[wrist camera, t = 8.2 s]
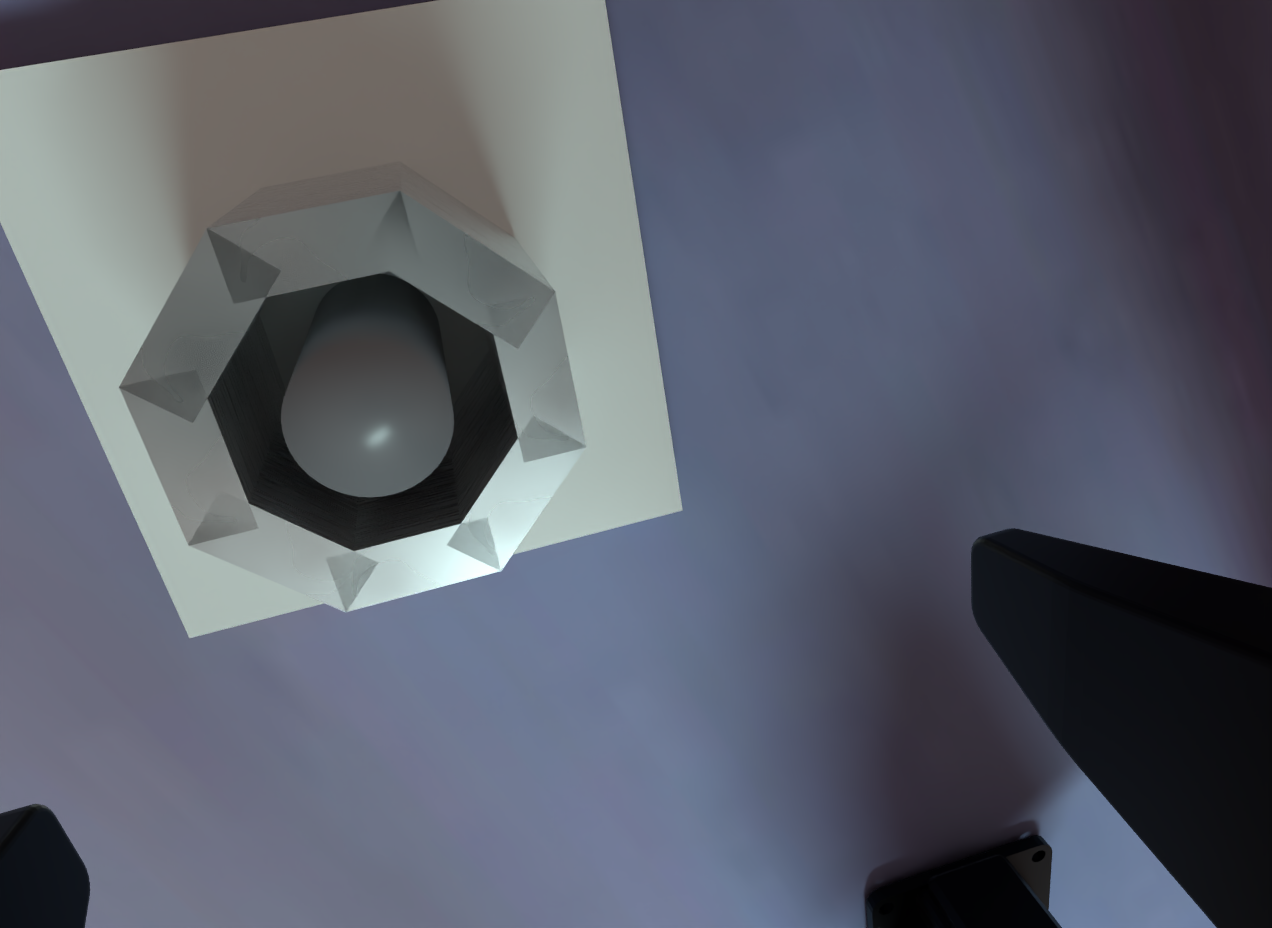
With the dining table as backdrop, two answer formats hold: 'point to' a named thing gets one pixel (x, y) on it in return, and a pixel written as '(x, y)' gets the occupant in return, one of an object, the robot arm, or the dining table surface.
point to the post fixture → (362, 307)
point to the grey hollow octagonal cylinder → (254, 391)
